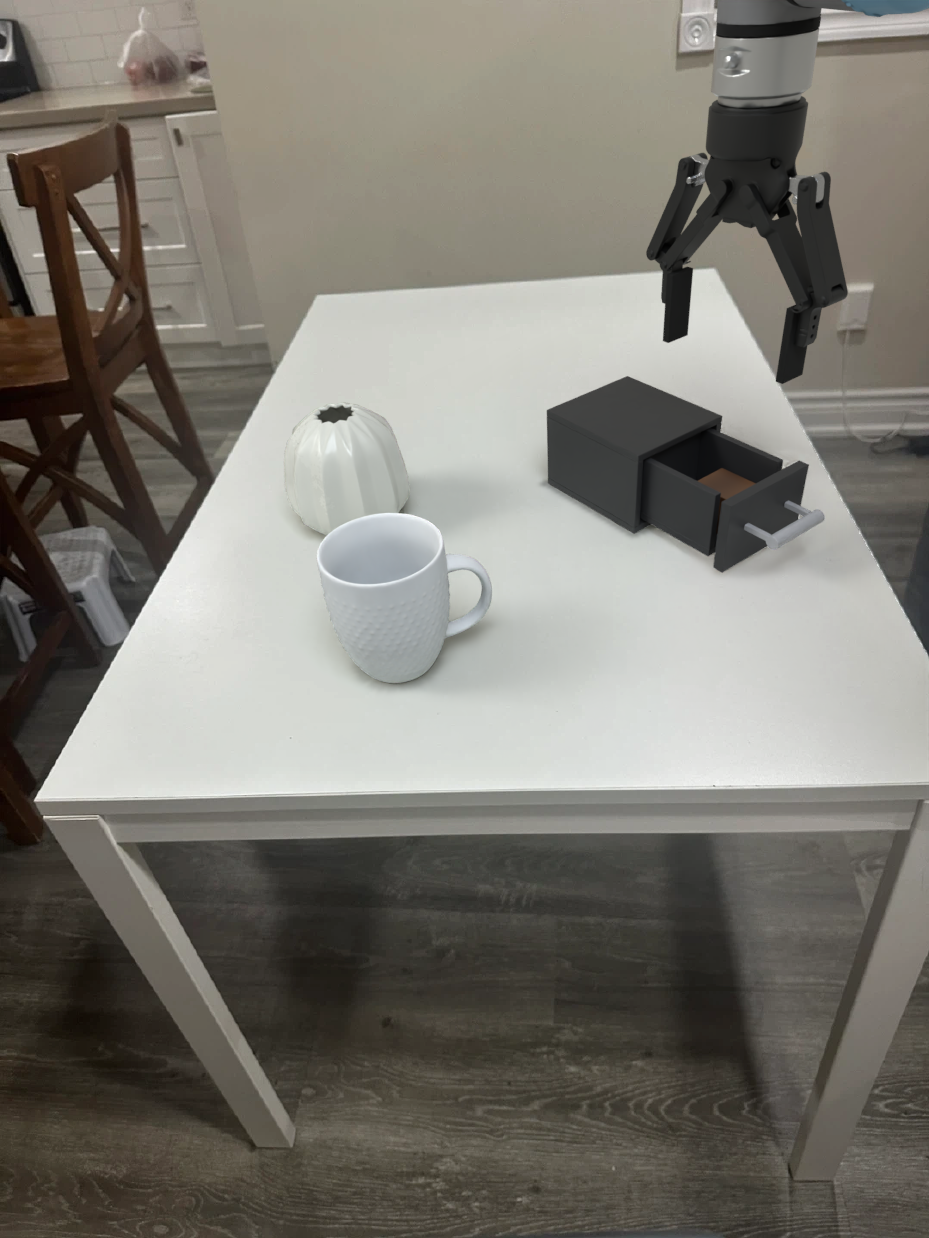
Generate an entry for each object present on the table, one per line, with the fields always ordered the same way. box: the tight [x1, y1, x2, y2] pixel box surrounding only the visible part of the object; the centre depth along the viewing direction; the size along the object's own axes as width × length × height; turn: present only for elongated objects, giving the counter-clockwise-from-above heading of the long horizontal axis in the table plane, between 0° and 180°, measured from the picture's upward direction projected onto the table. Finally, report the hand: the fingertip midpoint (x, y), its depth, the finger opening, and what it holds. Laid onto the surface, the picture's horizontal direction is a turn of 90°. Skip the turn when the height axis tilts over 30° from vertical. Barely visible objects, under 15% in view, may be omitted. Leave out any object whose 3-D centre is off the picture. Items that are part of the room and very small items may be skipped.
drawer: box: [640, 428, 826, 573], centre depth 89 cm, size 18×11×8 cm, turn 36°
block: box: [698, 468, 756, 534], centre depth 90 cm, size 4×4×4 cm
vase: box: [283, 401, 411, 537], centre depth 97 cm, size 14×14×13 cm
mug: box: [316, 512, 493, 684], centre depth 78 cm, size 15×11×13 cm
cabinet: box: [546, 375, 723, 534], centre depth 99 cm, size 15×13×10 cm
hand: (728, 357), depth 81 cm, fingers open, 13 cm apart
